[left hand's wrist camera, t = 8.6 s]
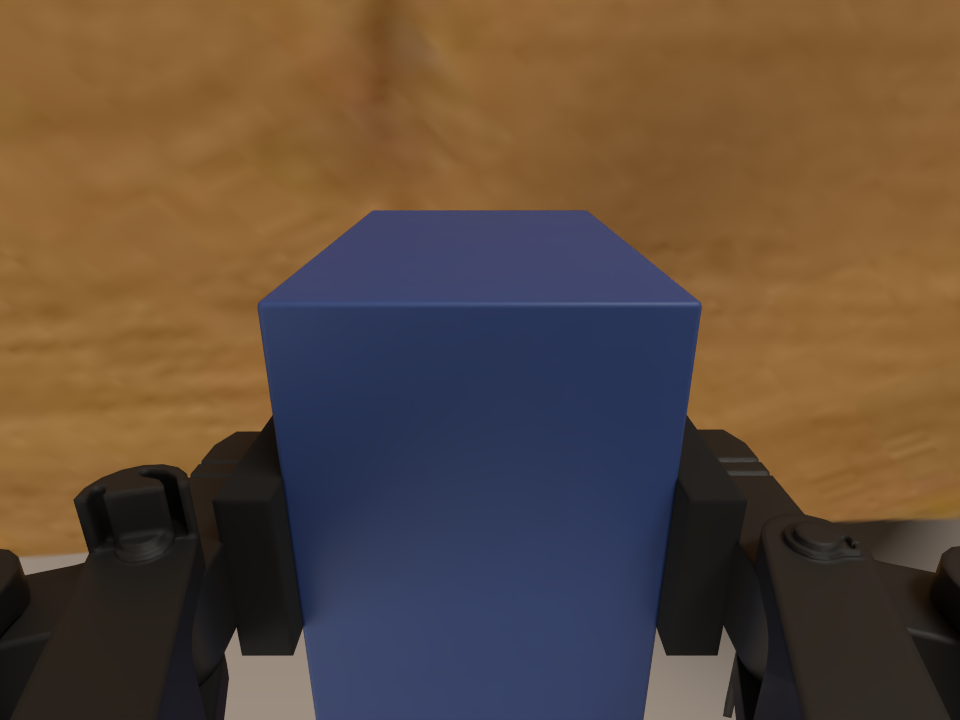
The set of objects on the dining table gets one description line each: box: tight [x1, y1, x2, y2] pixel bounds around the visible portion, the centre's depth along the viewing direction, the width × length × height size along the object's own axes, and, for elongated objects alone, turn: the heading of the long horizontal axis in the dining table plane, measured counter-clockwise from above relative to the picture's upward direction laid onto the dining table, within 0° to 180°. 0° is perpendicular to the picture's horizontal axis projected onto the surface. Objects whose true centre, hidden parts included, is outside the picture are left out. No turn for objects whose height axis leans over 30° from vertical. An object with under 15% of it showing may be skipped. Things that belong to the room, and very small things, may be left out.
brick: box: [258, 211, 702, 720], centre depth 13 cm, size 8×6×8 cm
